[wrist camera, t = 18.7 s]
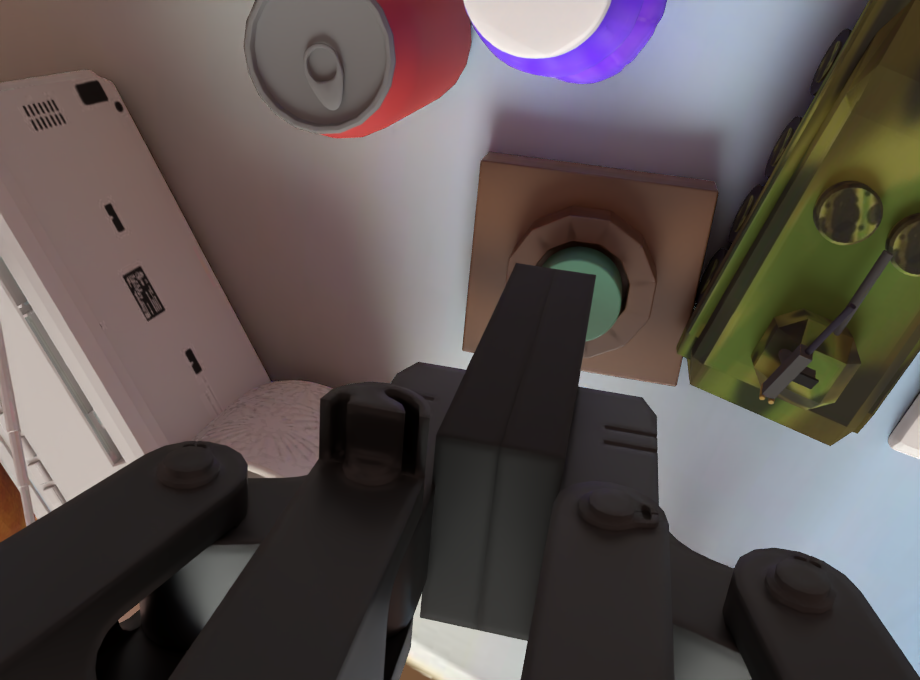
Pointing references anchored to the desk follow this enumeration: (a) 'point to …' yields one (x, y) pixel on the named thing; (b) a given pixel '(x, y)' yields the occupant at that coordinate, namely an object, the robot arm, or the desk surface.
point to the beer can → (354, 59)
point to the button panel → (604, 229)
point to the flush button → (605, 288)
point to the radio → (99, 297)
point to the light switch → (908, 432)
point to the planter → (272, 428)
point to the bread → (10, 507)
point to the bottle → (566, 34)
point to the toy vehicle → (825, 247)
